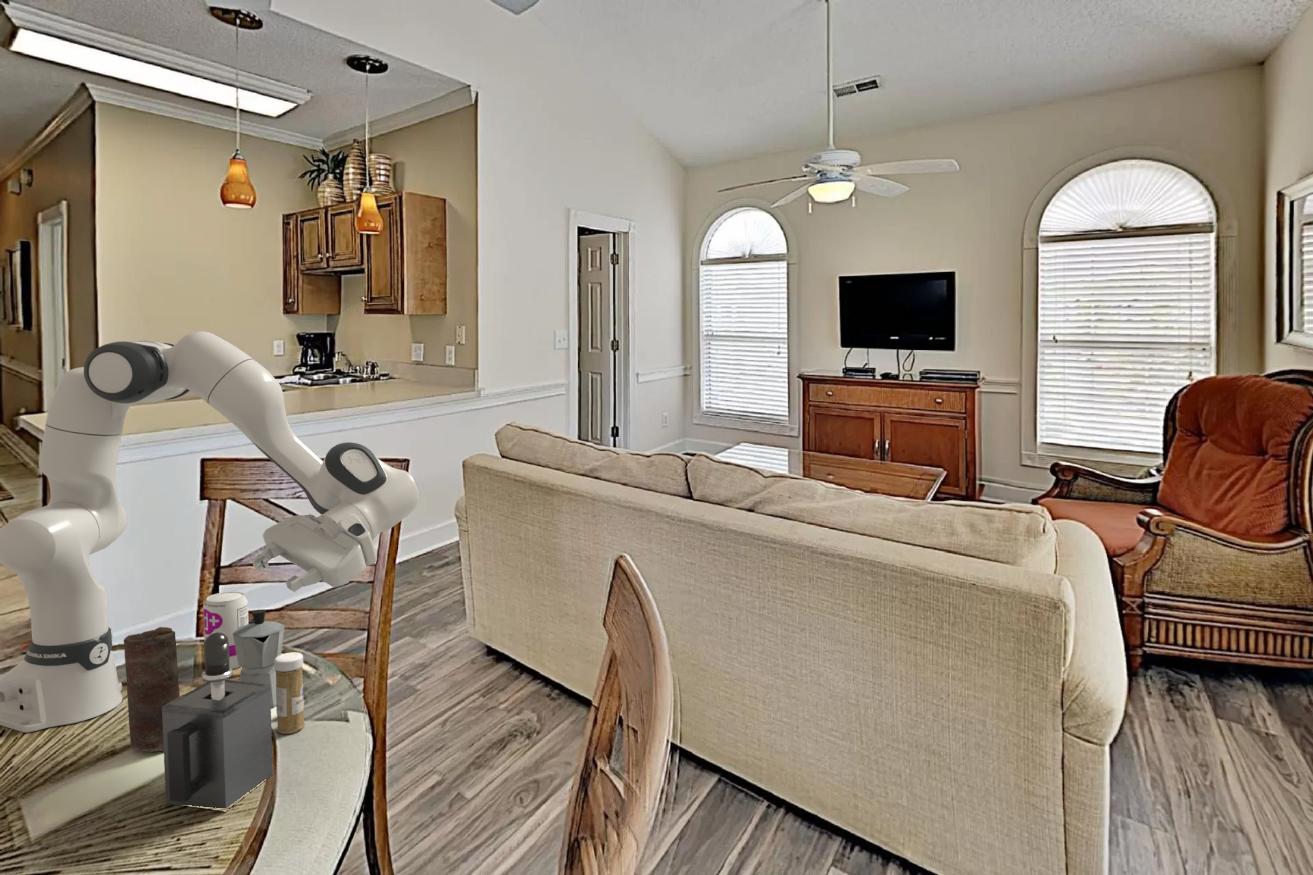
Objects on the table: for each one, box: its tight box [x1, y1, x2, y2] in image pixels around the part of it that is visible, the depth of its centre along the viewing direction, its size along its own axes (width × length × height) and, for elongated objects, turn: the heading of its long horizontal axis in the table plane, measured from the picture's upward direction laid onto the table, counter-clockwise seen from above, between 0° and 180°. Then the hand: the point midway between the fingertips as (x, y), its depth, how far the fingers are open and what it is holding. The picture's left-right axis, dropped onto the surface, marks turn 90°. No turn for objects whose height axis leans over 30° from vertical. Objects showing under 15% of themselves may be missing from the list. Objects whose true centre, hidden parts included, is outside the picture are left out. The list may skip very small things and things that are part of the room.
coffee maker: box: [233, 609, 286, 709], centre depth 143 cm, size 15×9×18 cm, turn 34°
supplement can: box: [202, 591, 249, 670], centre depth 159 cm, size 8×8×15 cm
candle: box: [123, 626, 181, 753], centre depth 125 cm, size 8×7×20 cm
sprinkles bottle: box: [275, 651, 306, 735], centre depth 132 cm, size 5×5×13 cm
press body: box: [162, 679, 274, 808], centre depth 111 cm, size 10×13×15 cm
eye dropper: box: [201, 632, 234, 701], centre depth 112 cm, size 8×8×22 cm
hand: (272, 576), depth 123 cm, fingers open, 8 cm apart
